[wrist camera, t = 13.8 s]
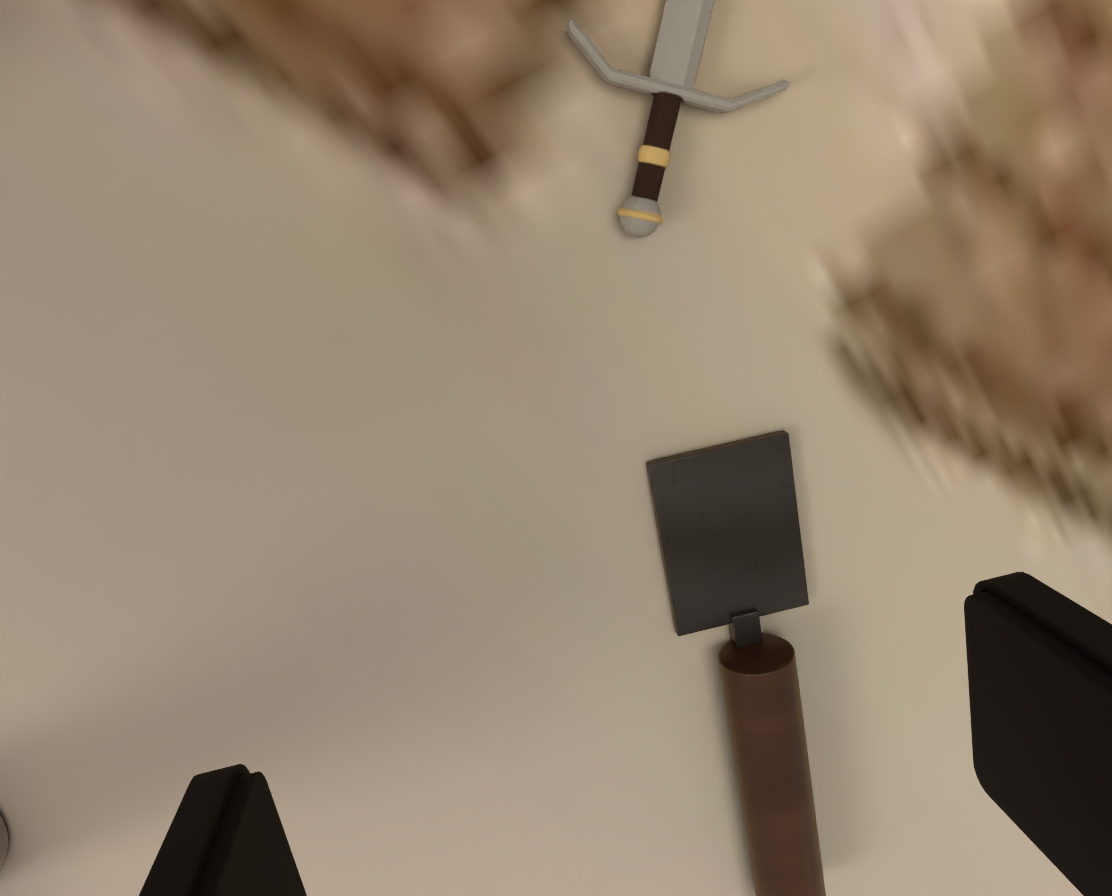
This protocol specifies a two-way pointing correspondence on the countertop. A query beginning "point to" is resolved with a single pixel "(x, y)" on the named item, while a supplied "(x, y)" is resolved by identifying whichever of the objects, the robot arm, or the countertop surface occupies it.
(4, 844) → the lotion bottle
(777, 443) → the spatula
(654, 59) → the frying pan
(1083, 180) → the countertop surface
